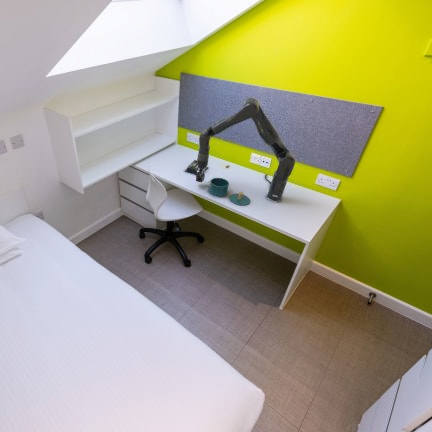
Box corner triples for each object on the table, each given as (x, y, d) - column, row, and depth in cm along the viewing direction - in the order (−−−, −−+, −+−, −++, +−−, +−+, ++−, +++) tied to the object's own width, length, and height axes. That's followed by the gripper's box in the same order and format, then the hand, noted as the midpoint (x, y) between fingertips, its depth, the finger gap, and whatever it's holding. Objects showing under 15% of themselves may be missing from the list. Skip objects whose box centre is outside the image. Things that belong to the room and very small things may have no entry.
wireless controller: (201, 176, 227) (204, 155, 217) (184, 171, 232) (186, 151, 222) (209, 165, 241) (213, 146, 230) (194, 161, 246) (196, 142, 236)
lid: (232, 192, 208) (234, 185, 205) (252, 198, 202) (254, 191, 199) (226, 202, 199) (227, 194, 195) (246, 208, 193) (248, 200, 189)
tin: (212, 186, 215) (214, 176, 210) (229, 191, 210) (231, 181, 205) (205, 194, 207) (207, 183, 202) (222, 199, 201) (225, 189, 196)
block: (198, 178, 215) (199, 172, 212) (204, 180, 213) (204, 174, 210) (195, 180, 212) (196, 175, 209) (201, 182, 210) (202, 177, 207)
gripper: (203, 163, 196) (200, 185, 206) (212, 156, 205) (208, 177, 216) (193, 161, 199) (190, 182, 209) (202, 153, 208) (199, 174, 219)
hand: (200, 180), depth 212 cm, fingers closed on block, 4 cm apart
